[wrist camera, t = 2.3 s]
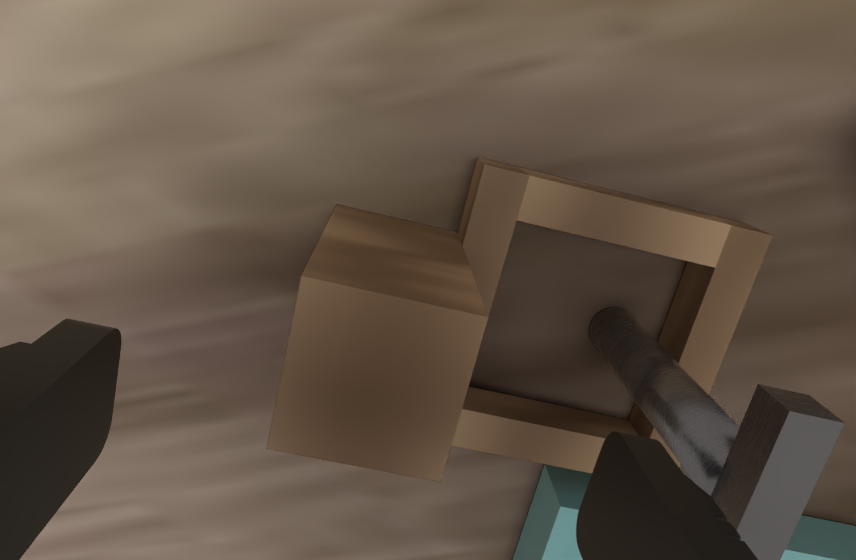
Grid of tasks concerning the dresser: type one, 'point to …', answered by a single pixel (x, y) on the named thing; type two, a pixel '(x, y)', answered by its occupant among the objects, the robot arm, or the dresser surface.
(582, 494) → the tray
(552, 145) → the dresser surface
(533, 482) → the dresser surface
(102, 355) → the robot arm
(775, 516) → the hammer
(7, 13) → the dresser surface
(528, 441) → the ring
